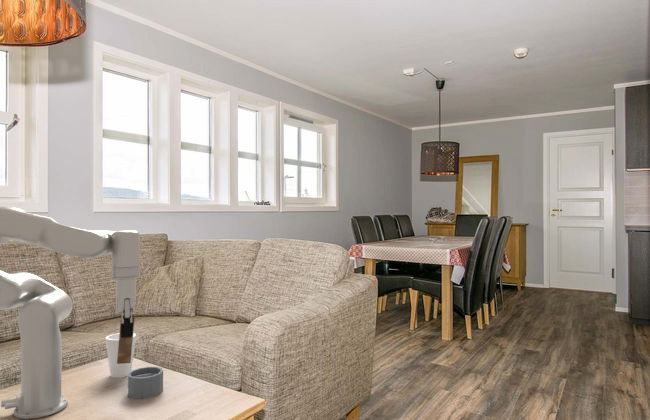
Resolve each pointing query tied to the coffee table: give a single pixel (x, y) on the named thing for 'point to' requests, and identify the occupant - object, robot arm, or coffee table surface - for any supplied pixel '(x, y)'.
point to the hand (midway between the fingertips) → (126, 335)
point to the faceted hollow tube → (145, 383)
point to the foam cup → (112, 352)
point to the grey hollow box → (146, 375)
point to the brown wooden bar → (125, 346)
